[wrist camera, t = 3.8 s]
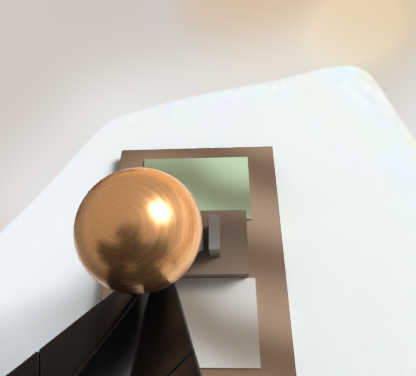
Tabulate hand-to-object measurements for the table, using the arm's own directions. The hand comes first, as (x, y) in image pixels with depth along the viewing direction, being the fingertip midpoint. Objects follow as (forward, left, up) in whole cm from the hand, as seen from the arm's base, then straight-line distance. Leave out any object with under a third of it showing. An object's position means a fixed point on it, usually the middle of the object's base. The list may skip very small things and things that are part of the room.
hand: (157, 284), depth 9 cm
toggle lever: (+3, -2, -9) cm, 10 cm away
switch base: (+3, -2, -12) cm, 13 cm away
